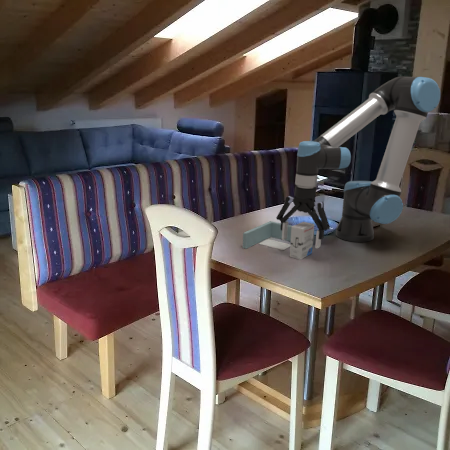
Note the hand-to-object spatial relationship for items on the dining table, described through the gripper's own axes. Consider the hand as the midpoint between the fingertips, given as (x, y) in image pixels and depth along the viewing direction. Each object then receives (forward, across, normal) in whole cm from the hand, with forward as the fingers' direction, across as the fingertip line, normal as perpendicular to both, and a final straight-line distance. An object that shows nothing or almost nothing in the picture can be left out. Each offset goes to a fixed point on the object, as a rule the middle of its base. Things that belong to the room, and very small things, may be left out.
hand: (300, 243), depth 184 cm
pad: (+5, +13, -4) cm, 14 cm away
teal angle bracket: (+5, +11, -3) cm, 12 cm away
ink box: (+5, 0, 0) cm, 5 cm away
